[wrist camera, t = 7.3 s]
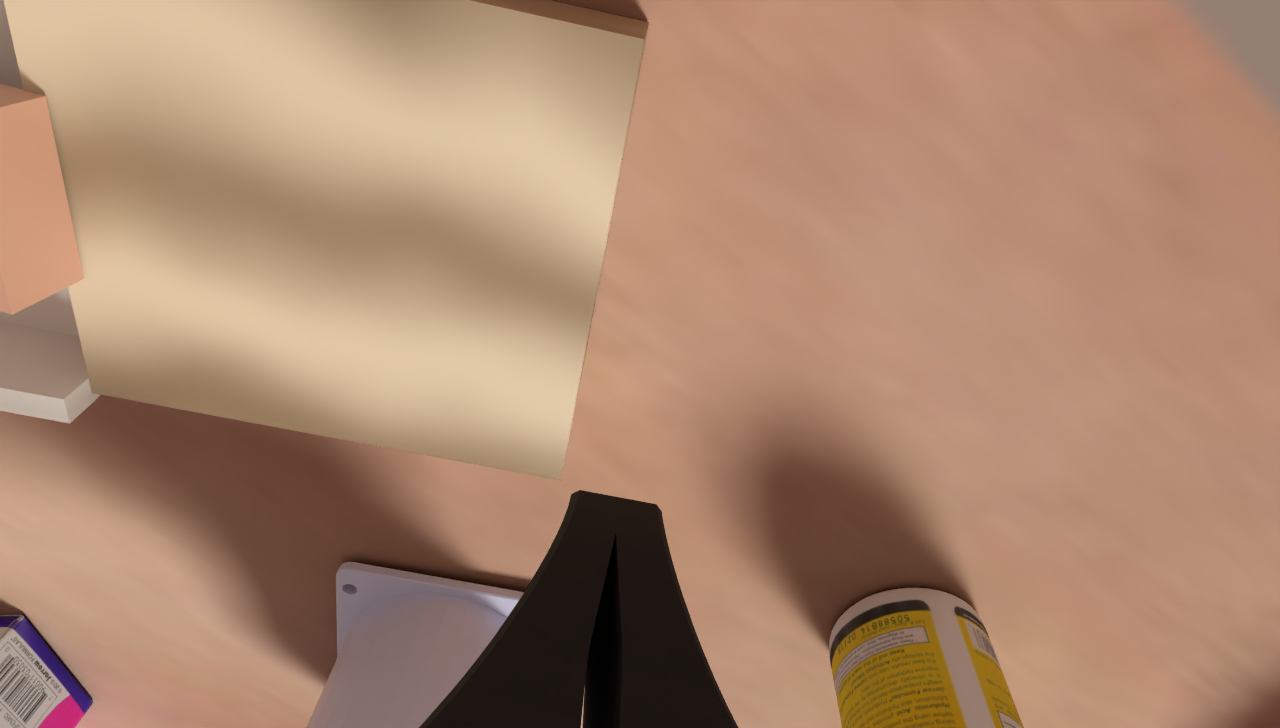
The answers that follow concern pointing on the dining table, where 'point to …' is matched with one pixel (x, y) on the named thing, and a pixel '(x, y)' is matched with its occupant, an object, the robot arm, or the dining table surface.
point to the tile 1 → (32, 206)
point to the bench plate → (341, 208)
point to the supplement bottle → (917, 664)
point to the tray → (40, 329)
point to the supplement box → (35, 681)
